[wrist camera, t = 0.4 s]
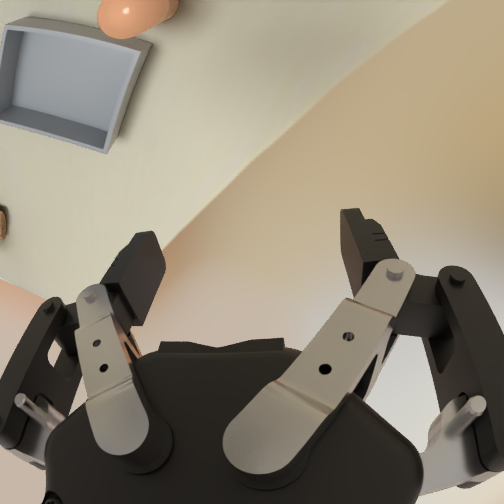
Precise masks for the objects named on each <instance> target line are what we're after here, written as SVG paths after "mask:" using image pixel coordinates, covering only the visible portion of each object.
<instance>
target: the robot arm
mask: <svg viewBox="0 0 504 504" xmlns="http://www.w3.org/2000/svg"><path fill="white" fill-rule="evenodd" d="M340 230H341V231H340V236H341V237H340V239H341V253H342V258H343V261H344V264H345V268H346V271H347V275H348V278H349V282H350V285H351V289H352V293H353V296H354V299H353V300H352V299H349V298H345V299H344V300H343V301H342V302H341V303H340V305H339V306H338V307H337V309H336V310H335V311H334V313H333V314H332V315H331V316H330V318H329V319H328V320H327V322H326V323H325V324H324V325H323V327H322V328H321V329H320V331H319V332H318V333H317V334H316V336H315V337H314V338H313V339H312V341H311V342H310V343H309V344H308V345H307V347H306V348H305V349H304V350H303V351H299V350H296V349H292V348H287V347H285V344H284V338H273V339H256V340H248V341H244V342H240V343H236V344H232V345H228V346H224V347H219V348H218V347H217V348H216V347H211V346H206V345H201V344H197V343H192V342H165V341H161V343H160V346H159V349H158V351H155V352H151V353H149V354H146V355H144V356H142V354H141V352H140V350H139V347H138V345H137V343H136V340H135V338H134V336H133V334H132V332H131V331H130V328H131V326H143V324H144V321H145V319H146V316H147V314H148V311H149V309H150V307H151V304H152V302H153V299H154V297H155V295H156V292H157V290H158V288H159V285H160V283H161V281H162V278H163V276H164V274H165V270H166V264H165V259H164V256H163V254H162V251H161V249H160V246H159V243H158V241H157V238H156V235H155V233H154V232H153V231H146V232H139V233H136V234H135V235H134V237H133V238H132V240H131V241H130V243H129V244H128V245H127V246H126V247H125V248H123V249H122V250H121V251H120V252H119V254H118V255H117V257H116V258H115V261H113V263H112V264H111V267H109V269H108V270H107V272H106V274H105V275H104V277H103V278H102V280H101V282H100V283H99V284H94V285H91V286H89V287H87V288H86V289H84V290H83V291H82V292H81V293H80V294H79V295H78V297H77V300H76V302H75V303H72V304H69V305H65V304H64V303H63V301H62V300H61V298H59V297H52V298H50V299H48V300H46V301H45V302H44V303H43V304H42V305H41V306H40V307H39V309H38V310H37V312H36V314H35V315H34V317H33V319H32V320H31V322H30V324H29V325H28V327H27V329H26V331H25V333H24V334H23V336H22V338H21V340H20V342H19V343H18V345H17V347H16V349H15V351H14V353H13V355H12V357H11V359H10V361H9V362H8V365H7V367H6V369H5V371H4V373H3V375H2V377H1V379H0V445H2V447H3V448H5V449H6V450H7V451H9V452H11V453H12V454H14V455H15V456H17V457H19V458H20V459H22V460H23V461H25V462H28V463H30V464H32V465H34V466H36V467H37V468H39V469H41V470H46V492H45V497H44V500H43V502H42V504H415V503H416V500H417V498H418V496H421V495H425V494H429V493H433V492H437V491H440V490H444V489H447V488H450V487H453V486H457V487H459V488H471V487H473V486H475V485H477V484H480V483H481V482H484V481H486V480H487V479H489V478H491V477H493V476H495V475H497V474H499V473H500V472H502V471H504V334H503V332H502V330H501V328H500V326H499V324H498V322H497V320H496V317H495V316H494V314H493V312H492V310H491V308H490V306H489V304H488V302H487V300H486V298H485V297H484V295H483V293H482V291H481V289H480V287H479V286H478V284H477V282H476V280H475V279H474V277H473V276H472V274H471V273H470V272H468V271H467V270H466V269H464V268H462V267H458V266H446V267H444V268H442V269H441V270H440V271H439V274H438V277H431V276H423V275H418V274H415V271H414V268H413V267H412V266H411V265H410V264H408V263H407V262H405V261H403V260H400V259H399V258H398V256H397V254H396V252H395V250H394V248H393V246H392V245H391V242H390V241H389V240H388V237H387V235H386V234H385V232H384V230H383V228H382V226H381V225H380V224H379V223H377V222H376V221H375V220H373V219H364V217H363V215H362V213H361V211H360V209H359V208H353V209H342V210H341V212H340ZM400 334H401V335H409V336H418V337H421V338H422V341H423V344H424V347H425V351H426V355H427V358H428V362H429V366H430V370H431V374H432V377H433V381H434V385H435V390H436V394H437V399H438V404H439V408H440V414H439V415H438V416H437V418H436V419H435V420H434V421H433V423H432V424H431V426H430V429H429V432H428V445H427V448H426V450H425V452H423V453H419V452H418V451H417V449H416V448H415V446H414V445H413V444H412V443H411V442H410V441H409V440H408V439H407V438H406V437H404V436H403V435H402V434H401V433H400V432H398V431H397V430H396V429H395V428H394V427H393V426H392V425H390V424H389V423H388V422H387V421H386V420H385V419H384V418H382V417H381V416H380V415H379V414H378V413H377V412H375V411H374V410H373V409H372V408H371V407H370V406H369V405H368V404H366V403H365V400H366V398H367V397H368V395H369V393H370V392H371V390H372V388H373V386H374V384H375V382H376V380H377V377H378V375H379V373H380V371H381V369H382V367H383V366H384V364H385V362H386V360H387V358H388V357H389V355H390V353H391V351H392V349H393V347H394V345H395V343H396V341H397V339H398V337H399V335H400ZM54 340H55V341H56V342H57V343H58V345H59V346H60V347H61V348H62V350H61V352H60V354H59V356H58V359H57V361H56V363H55V365H54V368H53V366H52V365H51V364H50V363H49V361H48V351H49V349H50V347H51V344H52V342H53V341H54ZM82 375H83V379H84V383H85V388H86V391H87V396H88V399H87V400H86V402H85V403H83V404H82V405H81V406H80V407H79V408H78V409H76V410H75V411H74V412H73V413H71V414H70V415H69V412H70V409H71V406H72V403H73V400H74V397H75V394H76V391H77V388H78V386H79V383H80V380H81V377H82ZM68 415H69V416H68Z"/></svg>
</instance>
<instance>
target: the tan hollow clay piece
mask: <svg viewBox="0 0 504 504" xmlns="http://www.w3.org/2000/svg"><path fill="white" fill-rule="evenodd" d="M5 232H6V217H5V214H4V213H3V212H2V211H0V240H4V239H5Z"/></svg>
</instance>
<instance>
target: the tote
mask: <svg viewBox="0 0 504 504" xmlns="http://www.w3.org/2000/svg"><path fill="white" fill-rule="evenodd" d="M151 45H152V43H150V42H146V41H143V40H140V39H136V38H133V37H132V38H128V39H116V38H112V37H110V36H108V35H106V34H105V33H104V32H103V31H102V30H101V29H98V28H94V27H89V26H84V25H79V24H74V23H69V22H63V21H56V20H50V19H42V18H34V17H24V18H22V19H19V20H16V21H13V22H11V23H8V24H6V25H5V27H4V31H3V36H2V41H1V46H0V123H1V124H5V125H8V126H12V127H16V128H19V129H23V130H27V131H30V132H34V133H37V134H41V135H44V136H48V137H51V138H55V139H58V140H62V141H65V142H68V143H72V144H75V145H78V146H81V147H85V148H88V149H91V150H94V151H97V152H100V153H104V154H107V153H108V151H109V149H110V148H111V146H112V145H113V143H114V141H115V140H116V138H117V136H118V133H119V130H120V127H121V124H122V121H123V117H124V114H125V111H126V109H127V106H128V103H129V100H130V97H131V94H132V92H133V89H134V86H135V84H136V81H137V78H138V76H139V73H140V71H141V68H142V66H143V63H144V61H145V59H146V56H147V54H148V52H149V49H150V47H151Z"/></svg>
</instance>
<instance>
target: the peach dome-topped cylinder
mask: <svg viewBox="0 0 504 504" xmlns="http://www.w3.org/2000/svg"><path fill="white" fill-rule="evenodd" d="M178 5H179V0H103V1H102V2H101V4H100V6H99V9H98V14H97V19H98V24H99V26H100V28H101V30H102V31H103V32H104V33H105V34H106V35H108V36H110V37H112V38H116V39H128V38H132V37H134V36H137V35H138V34H140V33H142V32H144V31H146V30H148V29H150V28H152V27H154V26H156V25H158V24H160V23H162V22H164V21H166V20H168V19H169V18H171V17H172V16H173V15H174V14H175V12H176V11H177V8H178Z"/></svg>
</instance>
